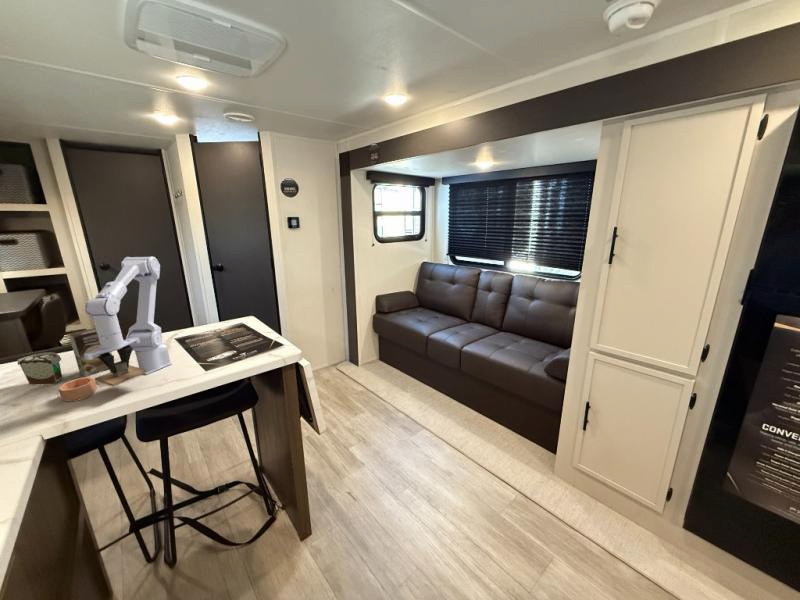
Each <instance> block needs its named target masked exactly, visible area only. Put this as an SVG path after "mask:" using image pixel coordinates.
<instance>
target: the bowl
mask: <svg viewBox="0 0 800 600" xmlns="http://www.w3.org/2000/svg"><path fill="white" fill-rule="evenodd" d="M97 389H98V386H97V381H96V380H95V378H93V377H91V376H84V377H80V378H76V379H72V380H70V381H68V382H64V383H62V384H61V385H60V386H59V387H58V388H57V390H58V393H59V395H60V399H61V400H64V401H66V402H75V400H77V401H79V399H81V400H83V398H84V399H86V398H88V397H90V396H92V395H93V394H94V393H95V392H96V390H97ZM94 391H95V392H94ZM91 394H92V395H91ZM89 395H90V396H89ZM87 396H88V397H87ZM85 397H86V398H85Z"/></svg>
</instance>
